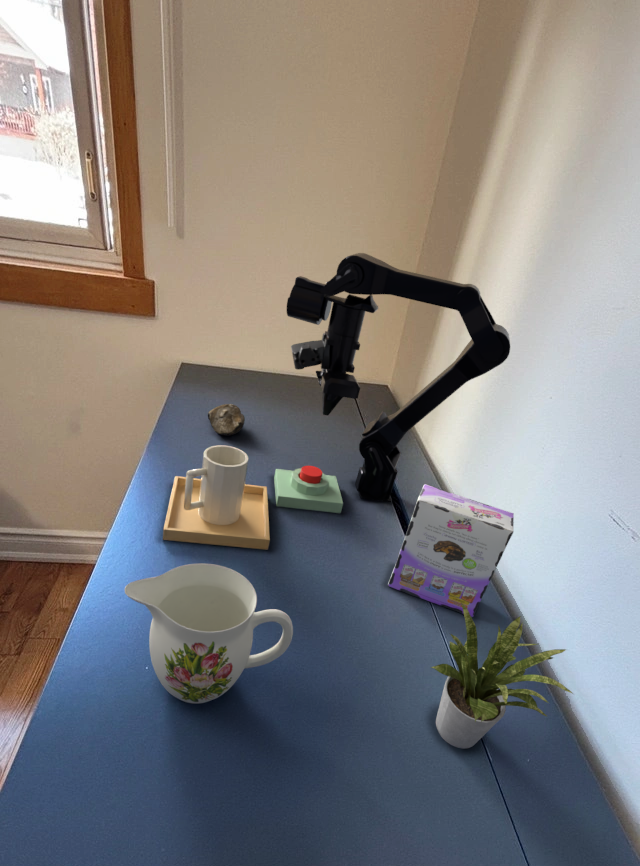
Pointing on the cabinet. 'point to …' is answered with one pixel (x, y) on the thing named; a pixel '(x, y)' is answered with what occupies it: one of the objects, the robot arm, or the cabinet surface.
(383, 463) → the robot arm
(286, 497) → the switch base
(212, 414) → the grey lumpy stone
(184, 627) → the pitcher
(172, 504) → the stand tray
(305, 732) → the cabinet surface
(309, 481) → the switch button
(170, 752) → the cabinet surface
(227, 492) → the tall mug
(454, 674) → the house plant
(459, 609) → the candy box
